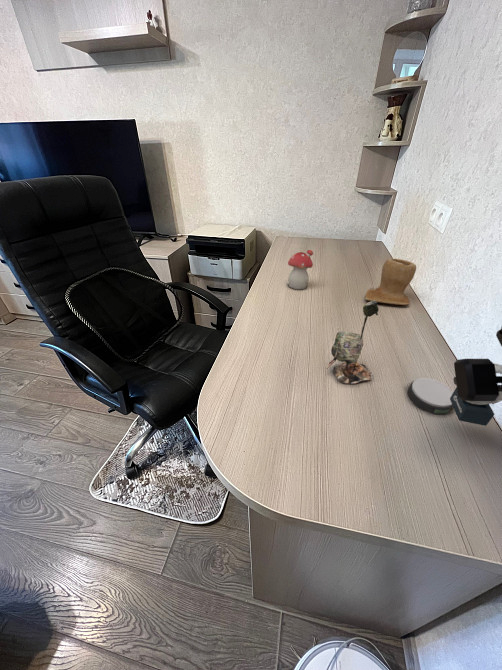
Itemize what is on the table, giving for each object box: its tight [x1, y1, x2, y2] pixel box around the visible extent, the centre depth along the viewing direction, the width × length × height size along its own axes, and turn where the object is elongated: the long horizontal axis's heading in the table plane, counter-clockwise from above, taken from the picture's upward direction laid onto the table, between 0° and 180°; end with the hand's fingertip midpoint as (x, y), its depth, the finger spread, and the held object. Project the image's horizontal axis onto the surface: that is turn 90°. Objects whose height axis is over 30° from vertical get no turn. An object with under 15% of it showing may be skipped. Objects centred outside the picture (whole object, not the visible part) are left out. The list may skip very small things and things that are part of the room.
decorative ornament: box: [287, 249, 314, 290], centre depth 107 cm, size 9×6×15 cm
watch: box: [450, 362, 502, 427], centre depth 49 cm, size 6×8×11 cm
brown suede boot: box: [364, 257, 417, 306], centre depth 99 cm, size 15×12×15 cm
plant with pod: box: [325, 300, 379, 384], centre depth 64 cm, size 8×11×20 cm
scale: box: [407, 377, 454, 416], centre depth 63 cm, size 9×9×3 cm
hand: (478, 380), depth 50 cm, fingers closed on watch, 8 cm apart
